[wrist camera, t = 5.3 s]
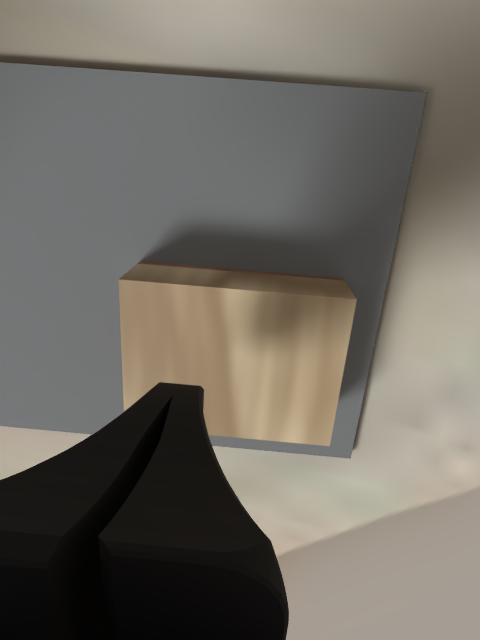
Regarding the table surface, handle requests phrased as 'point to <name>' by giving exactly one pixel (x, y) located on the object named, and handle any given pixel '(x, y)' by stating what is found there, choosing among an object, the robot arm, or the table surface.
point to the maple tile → (239, 346)
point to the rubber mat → (182, 216)
